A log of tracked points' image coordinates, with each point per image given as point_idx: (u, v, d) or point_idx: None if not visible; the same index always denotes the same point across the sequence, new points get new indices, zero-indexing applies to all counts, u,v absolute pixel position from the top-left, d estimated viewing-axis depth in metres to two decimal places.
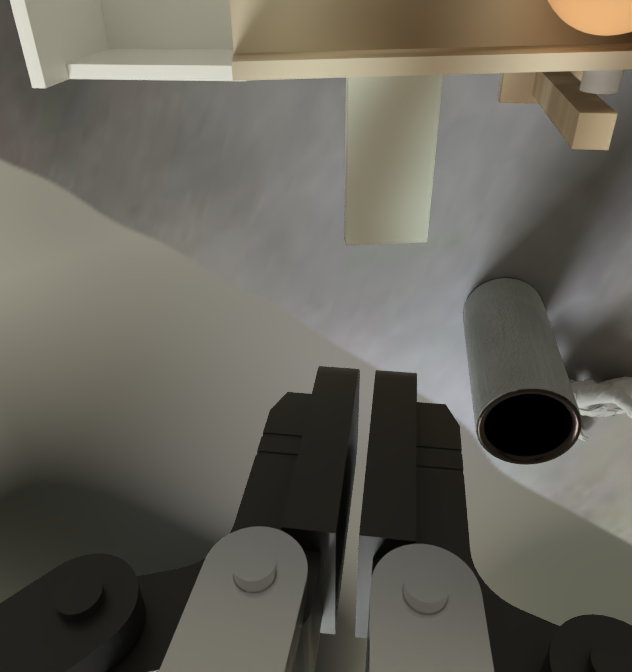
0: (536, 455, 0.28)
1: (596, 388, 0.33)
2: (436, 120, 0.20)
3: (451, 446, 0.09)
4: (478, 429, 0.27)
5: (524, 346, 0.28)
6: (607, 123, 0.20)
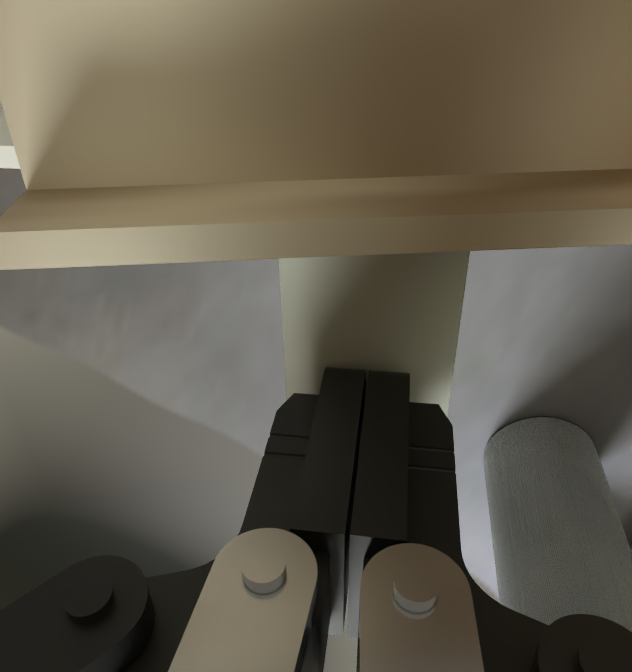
0: None
1: None
2: (458, 302, 0.10)
3: (443, 446, 0.09)
4: None
5: (585, 565, 0.18)
6: None
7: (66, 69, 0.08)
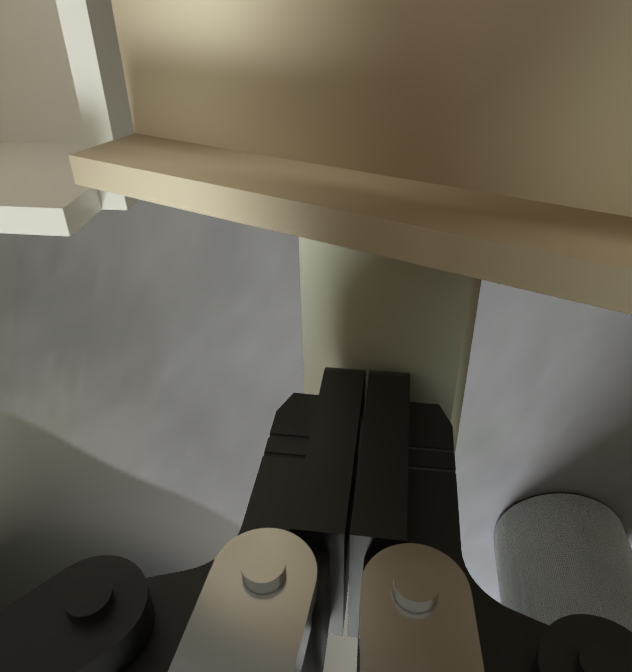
0: None
1: None
2: (459, 325, 0.09)
3: (444, 446, 0.09)
4: None
5: None
6: None
7: (158, 43, 0.10)
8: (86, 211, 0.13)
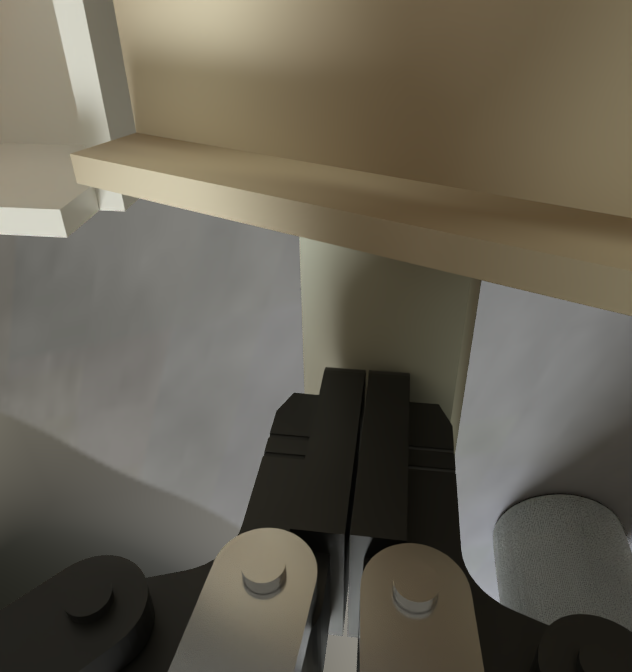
0: None
1: None
2: (459, 325, 0.09)
3: (444, 446, 0.09)
4: None
5: None
6: None
7: (159, 41, 0.10)
8: (83, 212, 0.13)
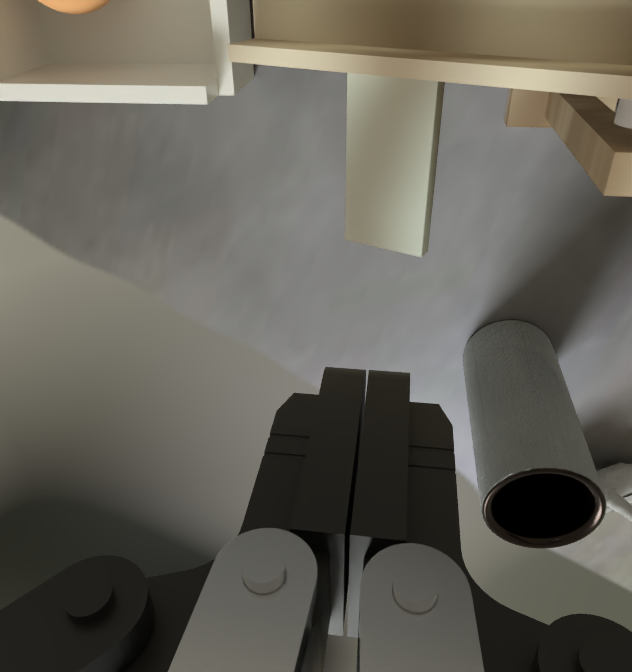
0: (551, 538, 0.24)
1: None
2: (431, 128, 0.18)
3: (444, 445, 0.09)
4: (484, 511, 0.23)
5: (536, 410, 0.24)
6: None
7: None
8: (213, 93, 0.22)
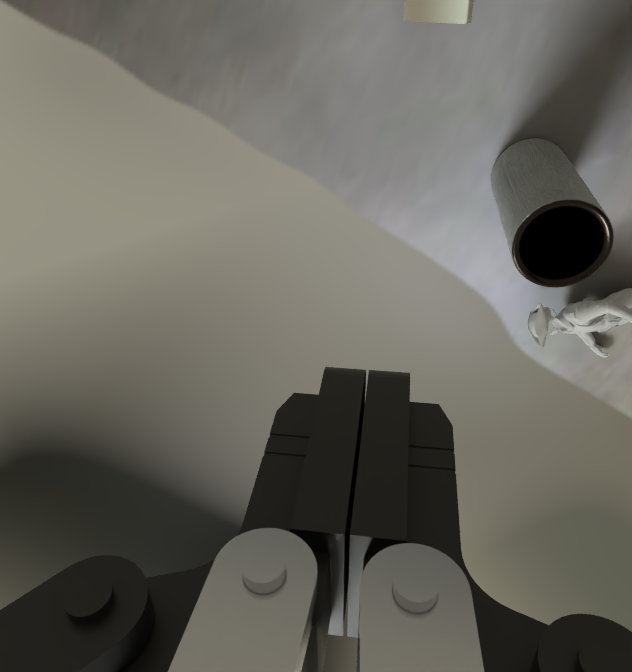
0: (568, 277, 0.29)
1: (590, 304, 0.37)
2: None
3: (443, 446, 0.09)
4: (514, 249, 0.29)
5: (556, 176, 0.30)
6: None
7: None
8: None
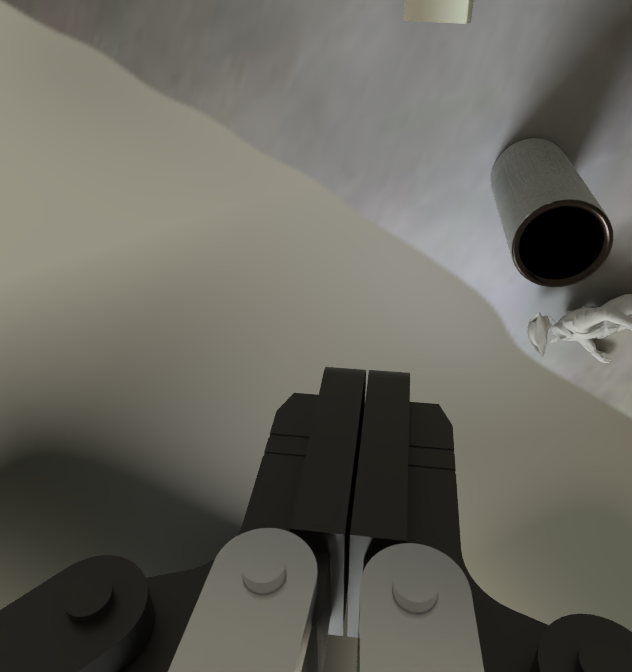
0: (568, 277, 0.29)
1: (588, 311, 0.37)
2: None
3: (443, 446, 0.09)
4: (513, 249, 0.29)
5: (556, 176, 0.30)
6: None
7: None
8: None
